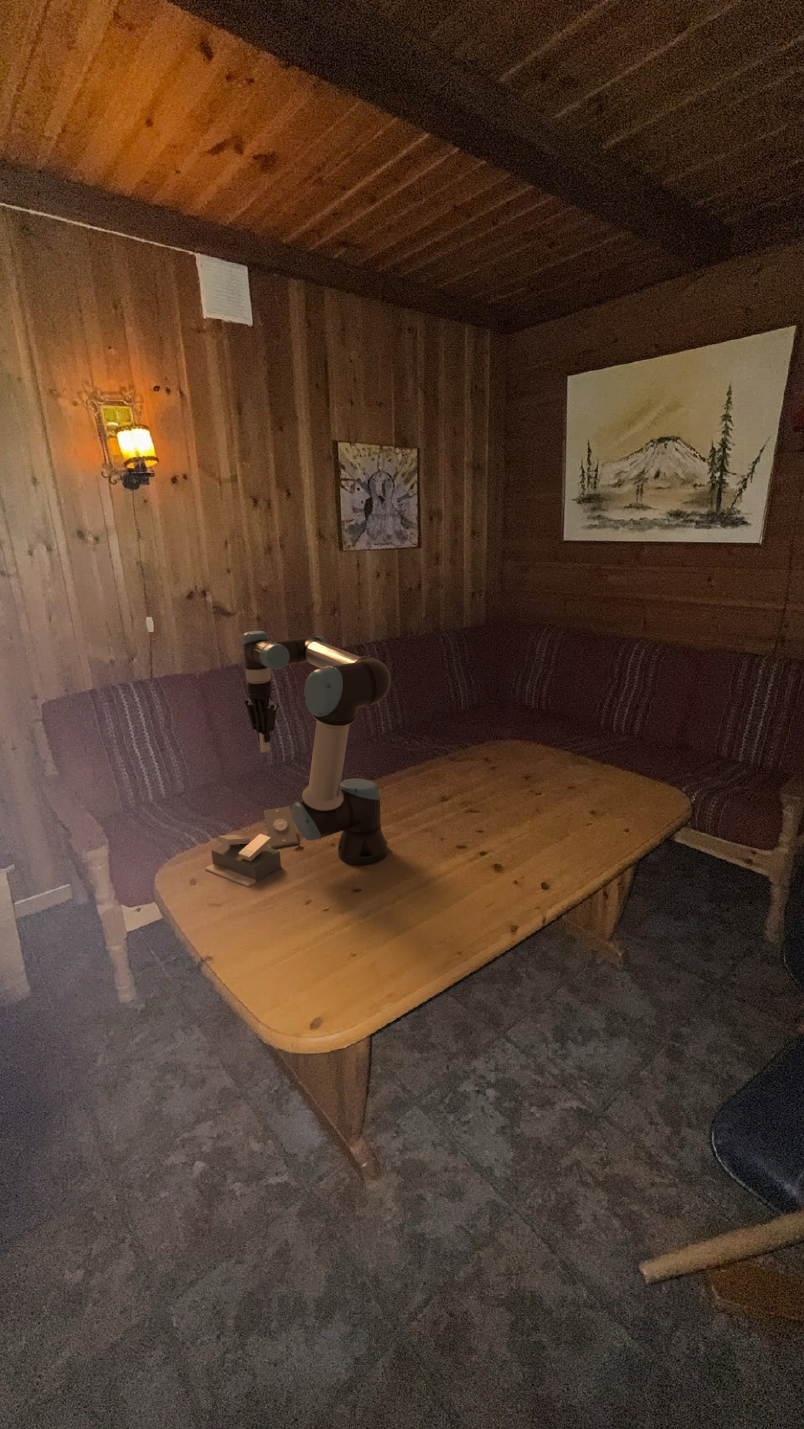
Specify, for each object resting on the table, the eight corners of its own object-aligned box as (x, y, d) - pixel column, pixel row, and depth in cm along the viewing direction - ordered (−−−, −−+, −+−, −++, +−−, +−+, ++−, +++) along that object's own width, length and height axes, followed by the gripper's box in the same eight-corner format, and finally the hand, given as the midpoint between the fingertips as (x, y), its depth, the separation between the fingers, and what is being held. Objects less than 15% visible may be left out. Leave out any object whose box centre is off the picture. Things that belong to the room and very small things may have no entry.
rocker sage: (272, 841, 183) (270, 837, 182) (250, 861, 176) (249, 856, 176) (261, 837, 185) (259, 833, 184) (239, 857, 179) (238, 852, 178)
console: (281, 866, 184) (279, 847, 182) (248, 887, 174) (246, 867, 172) (238, 851, 194) (236, 832, 192) (205, 869, 183) (202, 850, 181)
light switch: (270, 845, 193) (263, 808, 203) (271, 855, 197) (263, 819, 207) (298, 840, 196) (289, 804, 206) (297, 851, 200) (289, 815, 210)
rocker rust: (249, 843, 188) (250, 837, 188) (227, 844, 180) (228, 839, 180) (239, 839, 190) (240, 834, 190) (216, 841, 182) (217, 835, 183)
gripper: (282, 680, 196) (288, 751, 203) (252, 676, 203) (259, 744, 209) (265, 685, 190) (271, 758, 197) (235, 680, 197) (242, 751, 203)
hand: (265, 751), depth 203 cm, fingers closed
